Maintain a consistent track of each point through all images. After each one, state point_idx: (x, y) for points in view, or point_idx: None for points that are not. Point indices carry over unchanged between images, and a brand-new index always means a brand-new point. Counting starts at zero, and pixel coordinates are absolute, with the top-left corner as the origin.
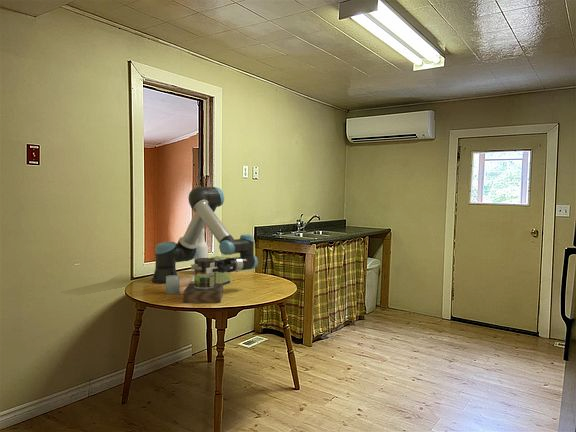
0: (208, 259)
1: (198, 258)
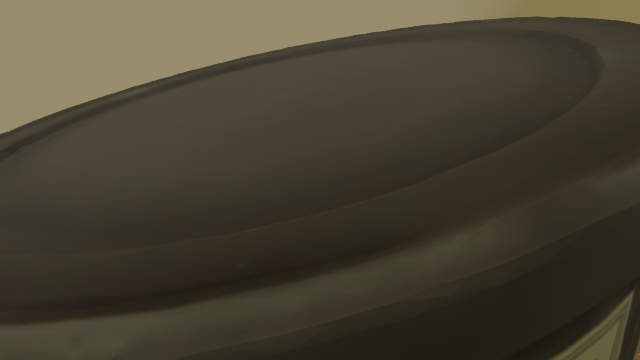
0: (256, 130)
1: (511, 22)
